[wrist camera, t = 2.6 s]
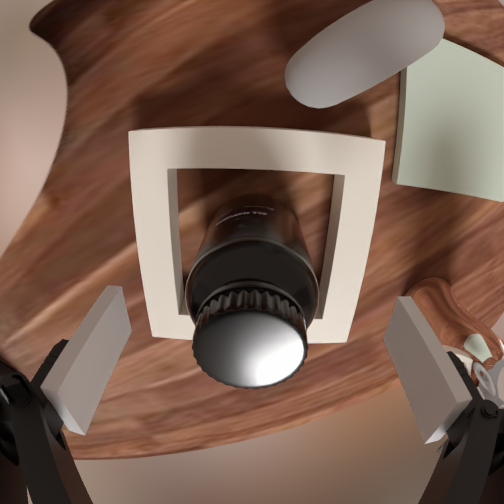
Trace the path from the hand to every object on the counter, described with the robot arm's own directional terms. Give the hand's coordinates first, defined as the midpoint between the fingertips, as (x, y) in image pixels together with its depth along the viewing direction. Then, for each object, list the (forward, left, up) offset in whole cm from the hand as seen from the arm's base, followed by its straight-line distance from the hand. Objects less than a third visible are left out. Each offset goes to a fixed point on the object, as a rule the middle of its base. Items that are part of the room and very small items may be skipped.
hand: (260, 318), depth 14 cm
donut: (+5, +13, -10) cm, 17 cm away
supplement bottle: (0, 0, -10) cm, 10 cm away
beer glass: (+16, -6, -10) cm, 20 cm away
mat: (+16, +11, -10) cm, 21 cm away
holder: (0, 0, -10) cm, 10 cm away
